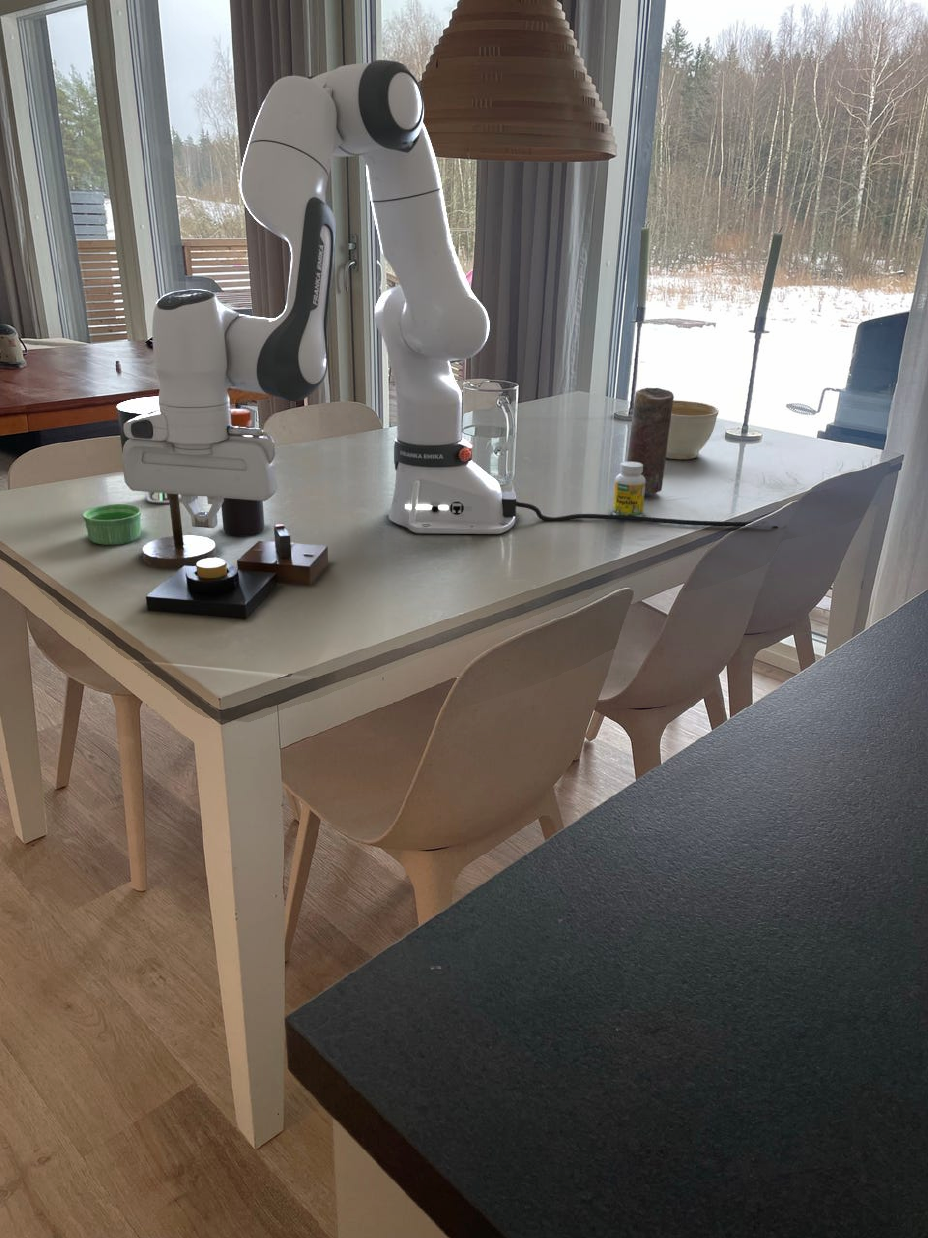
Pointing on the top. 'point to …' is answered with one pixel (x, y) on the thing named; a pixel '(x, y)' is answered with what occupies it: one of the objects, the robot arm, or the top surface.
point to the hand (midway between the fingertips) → (204, 526)
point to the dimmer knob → (282, 541)
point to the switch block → (212, 593)
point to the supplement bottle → (629, 490)
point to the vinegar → (239, 512)
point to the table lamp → (178, 546)
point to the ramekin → (113, 523)
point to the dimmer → (286, 562)
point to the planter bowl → (689, 428)
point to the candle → (651, 435)
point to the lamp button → (211, 568)
